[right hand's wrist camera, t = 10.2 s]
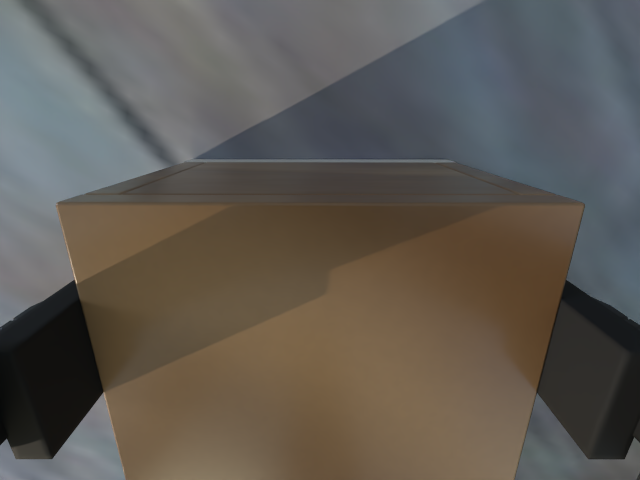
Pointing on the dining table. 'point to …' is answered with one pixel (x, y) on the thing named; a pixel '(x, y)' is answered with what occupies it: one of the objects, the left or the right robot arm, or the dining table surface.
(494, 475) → the cabinet
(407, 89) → the dining table surface
